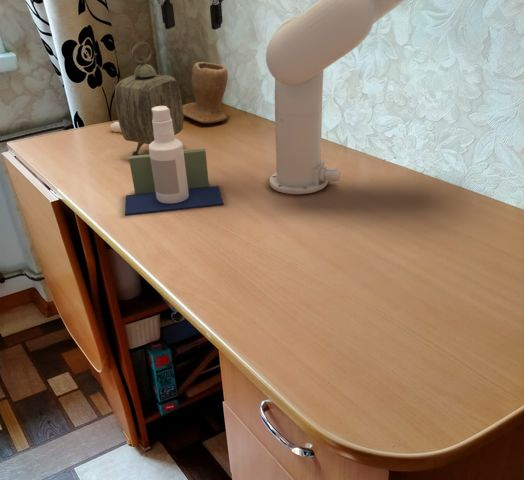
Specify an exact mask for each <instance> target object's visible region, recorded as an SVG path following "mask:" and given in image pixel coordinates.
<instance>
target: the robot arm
mask: <svg viewBox="0 0 524 480" xmlns="http://www.w3.org/2000/svg"><path fill="white" fill-rule="evenodd" d="M156 1H157V3H158V5H159V6H160V9H161V16H162V23H163V24H164V28H165V30H170V29H173V28H175V27H176V18H175V12H174V10H175V9H174V4H173V3H172V2H171V0H156ZM405 1H406V0H318V1H316V2H315V3H313V4H312V5H311V6H310V7H308V8H307V9H305V10H304V11H302V12H301V14H299V15H298V16H295V17H292V18H289V19H287V20H286V21H284V22H283V23H282V24H281V25H280V26H279V27H278V29H277V30H276V31H275V32H274V33H273V35H272V36H271V38H270V40H269V42H268V44H267V47H266V52H265V63H266V66H267V69H268V71H269V73H270V74H271V76H272V77H273V78H274V128H275V130H274V131H275V168H276V169H275V170H276V172H275V173H273V174H272V175H271V176H270V177H269V186H270V188H271V189H273V190H275V191H276V192H279V193H282V194H286V195H287V194H288V195H307V194H312V193H316V192H319V191H321V190H323V189H324V188H325V187H327V185H328V181H334V182H340V179H341V171H338V168H337V167H327V166H326V165H325V160H323V159H322V132H323V131H322V129H323V128H322V125H323V124H322V123H323V91H324V89H323V88H324V71H325V69H328V67H330V66H331V65H333V64H334V63H336V62H337V61H338V60H340V59H342V58H343V57H345V56H347V55H348V54H349V53H350V52H352V51H353V50H354V49H356V48H357V47H358V46H359V45H360V44H362V43H363V42H364V40H366V38H367V37H368V36H369V34H370V32H371V30H372V28H373V26H374V24H375V23H377V22H378V21H379V20H381V19H382V18H383V17H385V16H386V15H387V14H389V13H390V12H391V11H394V9H396V8H397V7H398V6H399V5H400V4H402V3H404V2H405ZM210 2H211V4H210V5H209V12H210V13H209V15H210V23H211V24H210V25H211V29H212V30H214V31H215V30H218V29H221V28H222V24H223V8H222V7H223V6H222V4H223V3H224V0H210Z"/></svg>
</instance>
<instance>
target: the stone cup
mask: <svg viewBox="0 0 524 480" xmlns="http://www.w3.org/2000/svg"><path fill="white" fill-rule="evenodd" d="M191 73H192V74H191V78H192V80H191V81H192V83H191V84H192V88H193V93H194V99H195V102H188V103H185V104H182V109H183V116H185V117H187V118H189V119H191V120H193V121H195V122H197V123H201V124H215V123H219V122H223V121H225V120H227V118H228V116H227V114H226V113H225V112H224V111H223V109H222V103H223V99H224V95H225V91H226V88H227V84H228V80H229V79H228V77H229V75H228V73H229V72H228V69H227V67H225V66H224V65H222V64H218V63H212V62H209V61H198V62H196V63H194V65H193V67H192V71H191Z"/></svg>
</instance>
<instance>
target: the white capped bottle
mask: <svg viewBox="0 0 524 480" xmlns="http://www.w3.org/2000/svg"><path fill="white" fill-rule="evenodd" d="M152 115H153V120H152V124H153V130H154V132H153V133H154V141H153V142H151V143H150V144H148V154H150V160H151V166H152V173H153V179H154V185H155V191H156V198H157V200H158V201H159V202H161V203H167V204H172V203H179V202H182V201H184V200H186V199H187V198H188V197H189V192H188V184H187V176H186V168H185V160H184V151H185V150H184V144H183V142H182V141H181V140H180V139H178V138H176V137H175V136H176V135H174V130H173V123H172V119H171V116H170V109H169V108H168V107H167V106H157V107H153V108H152Z"/></svg>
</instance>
